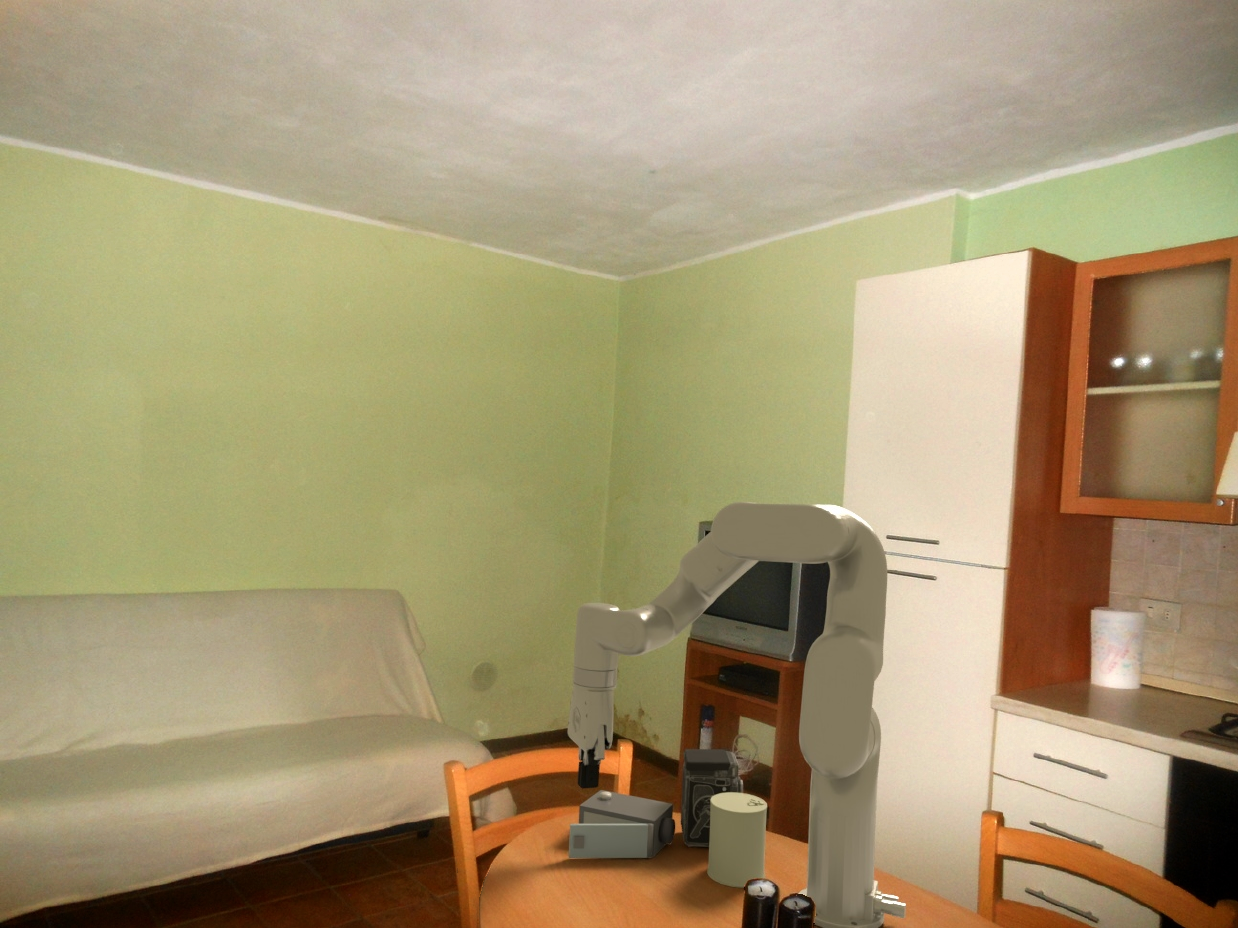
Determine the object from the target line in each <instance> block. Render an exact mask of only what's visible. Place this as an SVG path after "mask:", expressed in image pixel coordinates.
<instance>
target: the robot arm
mask: <svg viewBox="0 0 1238 928" xmlns="http://www.w3.org/2000/svg"><path fill="white" fill-rule="evenodd" d="M710 530H711V531H710V532H708V534H706V535H705V536H704V537H703V538H701V540H700V541H698V543H696V544H695V545H694V546H693V547H692V548H691V549H690V550H688V551H687V552H686V553H685V554H684V555H683V556H682V557H681V559H680V561H679V568H678V569H679V570H678V573H677V574H676V576H675V578H674V579H673V580H672V582H670V584H669V585H668V586H667V587H666V588H665V589H664V590H663V591H661V593H659V594H658V595H657V596H656V597H655V598H654V599H652V600H651V601H650V602H649V603H647V604H646V605H642V606H639V607H634V608H631V609H626V610H625V609H624V610H623V609H622V610H620V608H619V607H618V606H617V605H614V604H610V603H605V602H604V603H603V602H587V603H586V602H585V603H583V604H581V605H580V606H579V607H578V609H577V613H576V622H575V623H576V625H575V636H574V637H575V642H574V654H573V658H574V659H573V668H572V669H573V670H572V683H571V685H572V686H573V687H572V692H571V698H570V705H569V714H568V724H567V736H568V737H569V738H570V740H572V741H573V742H574V743H575V744H576V745H577V746H578V771H577V785H578V786H579V788H581V789H583V790H584V789H594V788H598V787H599V782H600V781H599V780H600V765H601V763H602V762H601V761H604V760H605V759H606V754H605V753H606V750H607V751H608V750H610V749H611V747H612V743H613V738H614V737H613V736H614V735H613V734H614V717H615V715H614V706H615V705H614V690H615V689H617V685H618V667H619V654H620V655H623V656H628V657H639V656H642V655H645V654H648V653H650V652H652V651H655V650H658V649H661V648H663V647H664V646H666V645H668V644H669V643H670V642H672V641H674V639H676V637H678V636H679V635H680V634H681V633H683V631H685V630H686V629H687V628H688V627H689V626H691V624H693V623H694V622H695V621H697V619H698V618H699V617H700V616H701V615H702V614H703V613H704V612H705V611H706V610H707V609H708V608H709V607H710V606H711V605H712V604H714V602H715V601H716V600H717V598H719V597H720V596H721V595H722V594H723V593H724V592H726V590H727V589H729V587H731V586H732V585H734V583H735V582H737V580H739V579H740V578H741V577H742V576H743V575H744V574H746V573H747V571H749V570H751V569H752V567H753V568H754V566H755V565H756V564H757V563H759V562H771V563H772V562H775V563H794V564H795V563H796V564H811V565H812V564H814V565H815V564H824V563H827V564H828V566H829V582H828V588H827V594H826V595H827V596H826V610H825V611H826V612H825V620H824V628H823V632H822V634H820V636H818V637H817V638H816V639H815V640H814V642H812V644H811V646H810V648H809V650H808V652H807V655H806V660H805V666H804V671H803V672H804V673H803V683H802V692H801V693H802V694H801V706H800V714H799V715H800V717H799V727H798V728H799V729H798V730H799V731H798V740H799V741H798V742H799V747H800V751H801V753H802V756H803V758H804V760H805V762H806V763H807V764H808V765H809V767H810V768H811V773H810V774H811V775H810V776H811V777H810V789H809V790H810V791H809V792H810V793H809V812H808V813H809V815H808V816H809V817H808V818H809V819H808V840H807V841H808V843H807V844H808V846H807V848H808V849H807V870H806V871H807V873H806V875H807V876H806V877H807V878H806V888H803V889H802V890H800V891H799V892H798V893H797V894H803V895H805V896H807V897H811V898H812V900H813V901H814V902H815V904H816V916H815V924H814V925H815V926H817V927H820V928H880V927H881V926H882V925H883V923H884V921H885V915H891V916H892V917H896V918H899V919H905V918H906V903H904V902H899V896H896V895H893V894H885V893H882V892H883V891H881V890H879V881H878V880H875V859H876V858H875V857H876V855H875V854H876V851H875V850H876V827H877V825H876V824H877V823H876V822H877V821H876V820H877V807H878V806H877V803H878V801H877V800H878V782H879V781H878V778H879V767H880V756H881V755H880V754H881V743H882V732H881V731H882V730H881V723H880V719H879V717H878V714H877V713H876V710H875V709H874V708H873V697H874V689H875V688H874V687H875V681H876V680H877V678H879V675H880V674H881V672H882V670H883V669H882V668H883V666H884V642H885V641H884V639H885V628H886V627H885V626H886V615H887V611H886V610H887V592H888V591H887V590H888V563H887V562H888V561H887V557H886V552H885V549H884V546H883V544H882V542H881V540H880V538H879V536H878V535H877V533H876V532H875V530H874V529H873V528H872V527H871V526H870V525H869V524H868V523H867V522H866V521H865V520H864V519H863V518H861V517H860V516H858V515H857V514H855V513H854V512H852V511H850V510H848V509H846V508H844V507H842V506H838V505H835V504H812V503H810V504H800V503H799V504H798V503H797V504H794V503H791V504H789V503H759V502H754V501H753V502H752V501H735V502H732V503H729V504H727V505H725V506H724V507H722V508H721V509H720V510H719V511H718V512H717V513H716V515H715V516H714V518H713V521H712V523H711V528H710Z"/></svg>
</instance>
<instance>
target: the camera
mask: <svg viewBox="0 0 1238 928" xmlns="http://www.w3.org/2000/svg"><path fill="white" fill-rule="evenodd" d="M683 760H684V762H683V764H682V780H681V781H682V782H681V785H682V786H681V807H680V810H681V811H680V826H681V832H682V833H681V834H682V841H683V843H684V844H685V845H686V846H687V847H688V848H691V847H702V848H703V847H704V848H706V847H707V848H709V841H710V805H711V803H710V799H711V798H712V797H713V796H714V795H716V794H720V793H727V792H736V793H744V782H743V779H741V777H740V776H739V769H740V768H739V767H740V766H739V762H738V759H737V757H736V754H735V753H734V752H733V751H729V750H728V751H727V750H726V749H722V748H721V749H720V748H719V749H715V748H714V749H711V748H710V749H709V748H708V749H707V748H704V749H701V748H692V749H691V748H686V749H684V750H683Z"/></svg>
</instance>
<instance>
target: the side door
mask: <svg viewBox="0 0 1238 928" xmlns="http://www.w3.org/2000/svg"><path fill="white" fill-rule="evenodd" d="M653 827H654V824H652V823H648V824H579V823H570V824H569V840H568V843H569V844H568V859H633V858H634V859H635V858H636V859H637V858H638V859H645V858H647V859H652V858H653V857H652V851H653Z"/></svg>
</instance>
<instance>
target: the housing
mask: <svg viewBox="0 0 1238 928" xmlns="http://www.w3.org/2000/svg"><path fill="white" fill-rule="evenodd" d="M578 810H579V811H578V824H648V823H652V824H654V827H653V851H652V858H655V856H656V855H657V854H658V853H659V852H660V851H661V850H662V849H663V848H665V846H666V845H671V844H672V843H673V841H674V839H675V834H676V821H675V820H676V819H674V818H673V815H674V814H673V813H674V803H670V802H666V801H661V800H660V801H659V800H655V799H650V798H644V797H639V796H634V795H628V794H625V793H624V794H623V793H619V792H615V791H610V790H609V791H608V790H603V789H600V790H598V792H596V793H595V794H593V795H591V796H590V797H588V798H587V799H586V800H585V801H583V802H582V803H581V804H580V805H579V808H578Z"/></svg>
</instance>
